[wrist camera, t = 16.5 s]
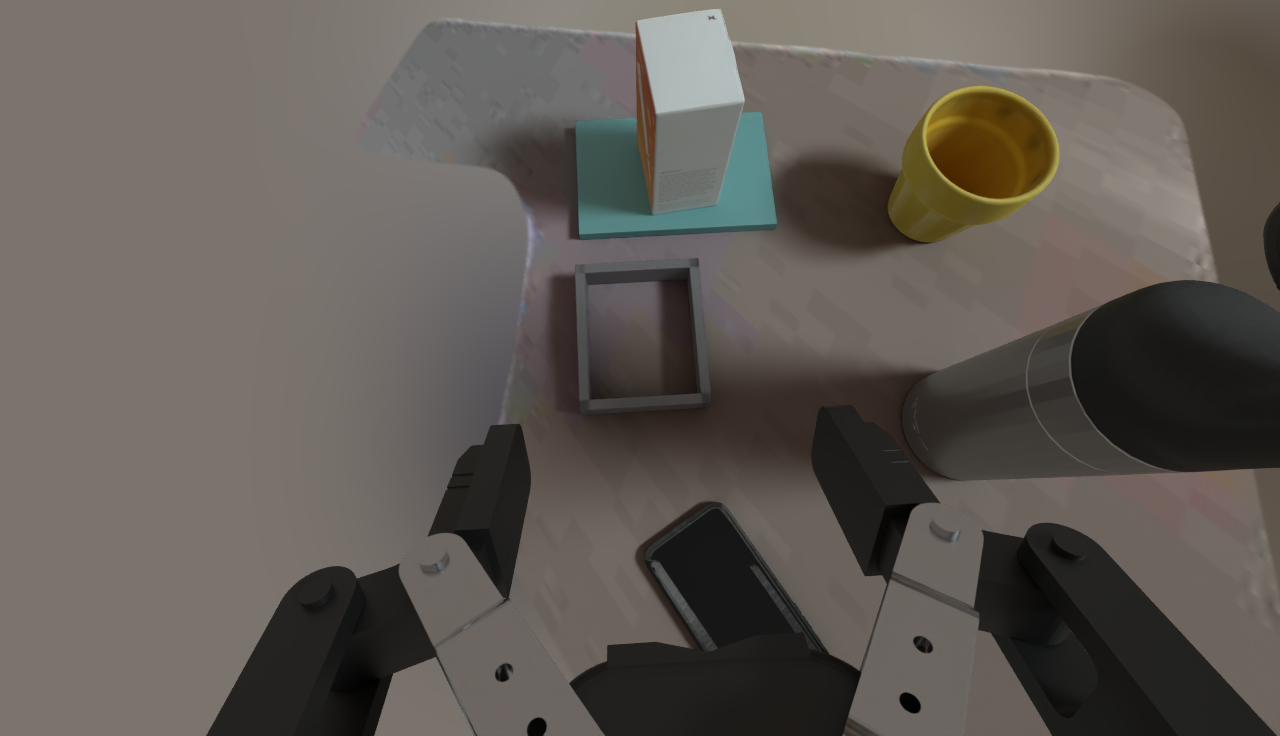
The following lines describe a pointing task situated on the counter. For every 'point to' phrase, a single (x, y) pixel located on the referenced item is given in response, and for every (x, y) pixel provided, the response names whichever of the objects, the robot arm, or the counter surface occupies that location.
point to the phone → (722, 582)
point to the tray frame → (690, 271)
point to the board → (621, 196)
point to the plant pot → (972, 163)
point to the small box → (686, 108)
